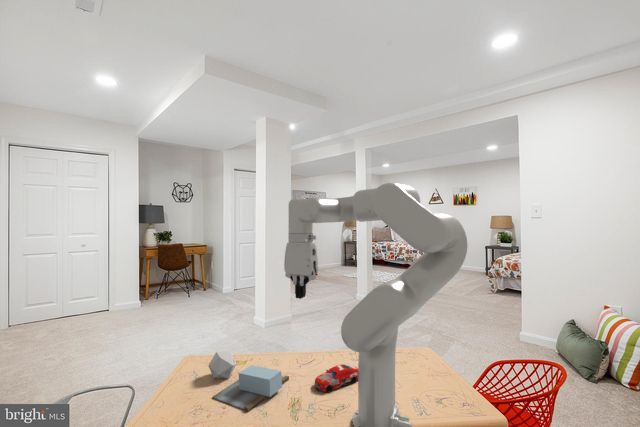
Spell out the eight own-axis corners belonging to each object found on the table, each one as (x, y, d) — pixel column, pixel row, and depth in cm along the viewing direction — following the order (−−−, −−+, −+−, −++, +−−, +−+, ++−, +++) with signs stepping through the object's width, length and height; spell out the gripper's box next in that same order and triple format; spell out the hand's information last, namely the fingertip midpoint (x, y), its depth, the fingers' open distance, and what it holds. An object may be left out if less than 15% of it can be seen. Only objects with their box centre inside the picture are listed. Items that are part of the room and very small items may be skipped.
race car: (321, 396, 98) (321, 380, 98) (310, 386, 103) (310, 370, 103) (363, 381, 106) (363, 366, 106) (351, 372, 112) (351, 358, 112)
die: (220, 387, 103) (238, 359, 106) (199, 372, 104) (217, 345, 107) (227, 384, 111) (243, 358, 114) (207, 369, 112) (224, 344, 115)
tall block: (281, 370, 100) (251, 365, 106) (269, 379, 95) (238, 373, 100) (282, 387, 100) (252, 380, 105) (270, 396, 94) (239, 389, 100)
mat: (288, 379, 107) (288, 376, 107) (248, 412, 89) (248, 408, 89) (256, 369, 114) (256, 366, 114) (212, 398, 96) (212, 394, 96)
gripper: (327, 238, 100) (327, 297, 100) (287, 237, 107) (287, 292, 107) (315, 240, 93) (315, 303, 93) (273, 238, 100) (273, 297, 100)
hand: (300, 297), depth 100 cm, fingers closed
